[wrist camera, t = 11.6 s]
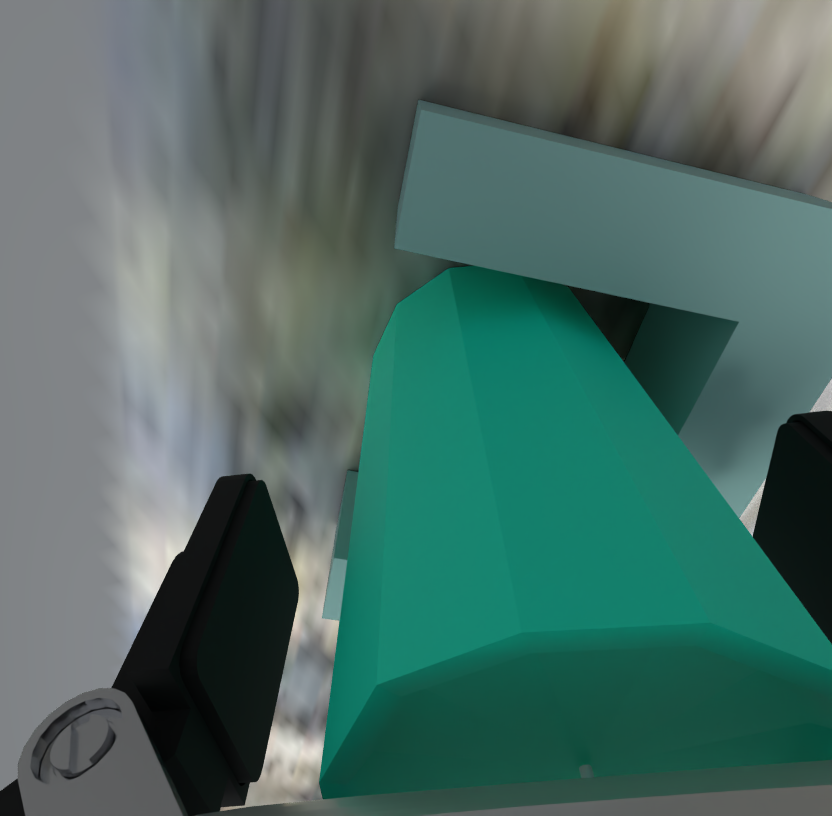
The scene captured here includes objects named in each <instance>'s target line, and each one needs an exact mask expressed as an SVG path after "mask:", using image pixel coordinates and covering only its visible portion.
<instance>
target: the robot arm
mask: <svg viewBox="0 0 832 816" xmlns="http://www.w3.org/2000/svg"><path fill="white" fill-rule="evenodd" d="M753 538H754V539H755V541H756V542H757V544H758V545H759V546H760V548H761V549H762V550H763V552H764V553H765V554H766V556H767V557H768V558H769V560H770V561H771V563H772V564H773V565H774V567H775V568H776V569H777V571H778V572H779V573H780V575H781V576H782V577H783V579H784V580H785V582H786V583H787V584H788V586H789V587H790V588H791V590H792V591H793V592H794V594H795V595H796V596H797V598H798V599H799V601H800V602H801V603H802V605H803V606H804V607H805V609H806V610H807V611H808V613H809V614H810V615H811V617H812V618H813V620H814V621H815V622H816V624H817V625H818V626H819V628H820V629H821V630H822V632H823V633H824V634H825V636H826V637H827V638H828V640H829V641H830V643H831V644H832V411H819V412H810V413H801V414H794V415H792V416H790V417H789V419H788V420H787V423H784V424H782V425H781V426H780V427H779V428H778V431H777V435H776V439H775V443H774V448H773V452H772V456H771V460H770V465H769V469H768V473H767V477H766V482H765V486H764V490H763V495H762V499H761V503H760V507H759V512H758V516H757V520H756V524H755V529H754V533H753ZM298 597H299V587H298V581H297V577H296V574H295V571H294V568H293V565H292V562H291V559H290V556H289V553H288V550H287V547H286V544H285V541H284V538H283V535H282V532H281V529H280V526H279V523H278V520H277V517H276V514H275V511H274V508H273V505H272V502H271V499H270V496H269V493H268V490H267V487H266V484H265V482H264V481H262V480H258V481H256V479H255V477H254V476H253V475H252V474H241V475H232V476H223V477H220V478H219V479H218V480H217V482H216V484H215V486H214V488H213V490H212V493H211V495H210V497H209V499H208V501H207V503H206V505H205V508H204V510H203V512H202V514H201V516H200V518H199V520H198V522H197V525H196V527H195V529H194V531H193V533H192V535H191V537H190V539H189V542H188V544H187V546H186V548H185V550H184V551H183V552H181V553H179V554H178V555H177V556H176V557H175V559H174V560H173V562H172V564H171V566H170V568H169V570H168V572H167V574H166V576H165V578H164V580H163V582H162V584H161V587H160V589H159V591H158V593H157V595H156V597H155V599H154V601H153V603H152V605H151V607H150V609H149V611H148V613H147V616H146V618H145V620H144V622H143V624H142V626H141V628H140V630H139V632H138V634H137V636H136V638H135V640H134V642H133V644H132V647H131V649H130V651H129V653H128V655H127V657H126V659H125V661H124V663H123V665H122V667H121V669H120V671H119V673H118V675H117V678H116V680H115V682H114V684H113V686H112V688H99V689H96V690H92V691H89V692H85V693H82V694H80V695H78V696H76V697H74V698H72V699H70V700H69V701H67V702H65V703H64V704H62V705H61V706H60V707H58V708H57V709H56V710H55V711H53V712H52V713H51V714H49V715H48V717H46V719H45V720H44V721H43V722H42V723H41V724H40V725H39V726H38V727H37V728H36V729H35V730H34V732H33V734H32V735H31V737H30V738H29V740H28V741H27V743H26V745H25V746H24V748H23V751H22V754H21V756H20V759H19V762H18V779H16V780H15V781H13V782H12V783H11V784H9V785H8V786H7V787H5V788H4V789H3V790H1V791H0V816H832V760H825V761H811V762H796V763H782V764H768V765H753V766H739V767H726V768H712V769H699V770H685V771H672V772H658V773H645V774H632V775H618V776H605V777H592V778H579V779H566V780H553V781H540V782H526V783H514V784H501V785H489V786H477V787H464V788H452V789H440V790H427V791H415V792H402V793H390V794H378V795H365V796H354V797H343V798H333V799H323V800H313V801H303V802H293V803H283V804H273V805H263V806H253V807H246V808H239V809H233V810H226V811H220V808H221V807H229V806H242V805H245V802H246V797H247V793H248V788H249V784H250V782H257V781H258V780H259V778H260V775H261V772H262V768H263V764H264V759H265V754H266V749H267V745H268V740H269V735H270V730H271V726H272V721H273V716H274V712H275V707H276V702H277V697H278V693H279V688H280V683H281V678H282V674H283V669H284V664H285V660H286V655H287V650H288V645H289V641H290V636H291V631H292V627H293V622H294V617H295V612H296V608H297V603H298ZM219 811H220V812H219Z"/></svg>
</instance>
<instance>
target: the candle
mask: <svg viewBox="0 0 832 816" xmlns="http://www.w3.org/2000/svg"><path fill="white" fill-rule="evenodd" d="M825 760H832V644H831V643H830V641H829V640H828V638H827V637H826V636H825V634H824V633H823V632H822V630H821V629H820V628H819V626H818V625H817V624H816V622H815V621H814V620H813V618H812V617H811V615H810V614H809V613H808V611H807V610H806V609H805V607H804V606H803V605H802V603H801V602H800V601H799V599H798V598H797V596H796V595H795V594H794V592H793V591H792V590H791V588H790V587H789V586H788V584H787V583H786V582H785V580H784V579H783V577H782V576H781V575H780V573H779V572H778V571H777V569H776V568H775V567H774V565H773V564H772V563H771V561H770V560H769V558H768V557H767V556H766V554H765V553H764V552H763V550H762V549H761V548H760V546H759V545H758V544H757V542H756V541H755V539H754V538H753V537H752V535H751V534H750V533H749V531H748V530H747V529H746V527H745V526H744V525H743V523H742V522H741V521H740V519H739V518H738V516H737V515H736V514H735V512H734V511H733V510H732V508H731V507H730V506H729V504H728V503H727V502H726V500H725V499H724V497H723V496H722V495H721V493H720V492H719V491H718V489H717V488H716V487H715V485H714V484H713V483H712V481H711V480H710V478H709V477H708V476H707V474H706V473H705V472H704V470H703V469H702V468H701V466H700V465H699V464H698V462H697V461H696V459H695V458H694V457H693V455H692V454H691V453H690V451H689V450H688V449H687V447H686V446H685V445H684V443H683V442H682V440H681V439H680V438H679V436H678V435H677V434H676V432H675V431H674V430H673V428H672V427H671V426H670V424H669V423H668V422H667V420H666V419H665V417H664V416H663V415H662V413H661V412H660V411H659V409H658V408H657V407H656V405H655V404H654V403H653V401H652V400H651V398H650V397H649V396H648V394H647V393H646V392H645V390H644V389H643V388H642V386H641V385H640V384H639V382H638V381H637V379H636V378H635V377H634V375H633V374H632V373H631V371H630V370H629V369H628V367H627V366H626V365H625V363H624V362H623V360H622V359H621V358H620V356H619V355H618V354H617V352H616V351H615V350H614V348H613V347H612V346H611V344H610V343H609V341H608V340H607V339H606V337H605V336H604V335H603V333H602V332H601V331H600V329H599V328H598V327H597V325H596V324H595V323H594V321H593V320H592V318H591V317H590V316H589V314H588V313H587V312H586V310H585V309H584V308H583V306H582V305H581V304H580V302H579V301H578V299H577V298H576V297H575V295H574V294H573V293H572V291H571V290H570V289H569V287H567V286H565V285H562V284H559V283H554V282H549V281H545V280H540V279H535V278H531V277H526V276H521V275H516V274H512V273H507V272H502V271H498V270H493V269H488V268H483V267H479V266H465V267H455V268H448V269H447V270H445V271H444V272H442V273H441V274H439V275H438V276H437V277H435V278H434V279H432V280H431V281H429V282H428V283H426V284H425V285H424V286H422V287H421V288H419V289H418V290H416V291H415V292H414V293H412V294H411V295H409V296H408V297H406V298H405V299H403V300H402V301H401V302H399V303H398V304H397V305H396V307H395V309H394V311H393V314H392V316H391V318H390V320H389V322H388V324H387V327H386V329H385V331H384V333H383V335H382V338H381V340H380V342H379V344H378V346H377V349H376V351H375V353H374V355H373V361H372V369H371V377H370V385H369V393H368V401H367V408H366V416H365V424H364V432H363V440H362V448H361V456H360V464H359V472H358V480H357V487H356V495H355V503H354V511H353V519H352V527H351V535H350V543H349V551H348V558H347V566H346V574H345V582H344V590H343V598H342V606H341V614H340V622H339V630H338V637H337V645H336V653H335V661H334V669H333V677H332V685H331V693H330V701H329V709H328V716H327V724H326V732H325V740H324V748H323V756H322V764H321V772H320V780H319V784H320V789H321V793H322V798H323V799H333V798H343V797H354V796H365V795H378V794H390V793H402V792H415V791H427V790H440V789H452V788H464V787H477V786H489V785H501V784H514V783H526V782H540V781H553V780H566V779H579V778H592V777H605V776H618V775H632V774H645V773H658V772H672V771H685V770H699V769H712V768H726V767H739V766H753V765H768V764H782V763H796V762H811V761H825Z"/></svg>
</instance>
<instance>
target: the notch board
mask: <svg viewBox="0 0 832 816" xmlns="http://www.w3.org/2000/svg"><path fill="white" fill-rule="evenodd" d="M394 249H399V250H404V251H408V252H413V253H418V254H422V255H427V256H432V257H436V258H441V259H446V260H451V261H455V262H460V263H465V264H469V265H474V266H479V267H483V268H488V269H493V270H498V271H502V272H507V273H512V274H516V275H521V276H526V277H531V278H535V279H540V280H545V281H549V282H554V283H559V284H563V285H568V286H573V287H578V288H582V289H587V290H592V291H596V292H601V293H606V294H610V295H615V296H620V297H625V298H629V299H634V300H639V301H643V302H648V303H651V304H650V306H649V308H648V310H647V313H646V315H645V317H644V319H643V322H642V324H641V326H640V328H639V331H638V333H637V335H636V337H635V340H634V342H633V344H632V346H631V349H630V351H629V353H628V355H627V358H626V360H625V362H624V363H625V365H626V366H627V367H628V369H629V370H630V371H631V373H632V374H633V375H634V377H635V378H636V379H637V381H638V382H639V384H640V385H641V386H642V388H643V389H644V390H645V392H646V393H647V394H648V396H649V397H650V398H651V400H652V401H653V403H654V404H655V405H656V407H657V408H658V409H659V411H660V412H661V413H662V415H663V416H664V417H665V419H666V420H667V422H668V423H669V424H670V426H671V427H672V428H673V430H674V431H675V432H676V434H677V435H678V436H679V438H680V439H681V440H682V442H683V443H684V445H685V446H686V447H687V449H688V450H689V451H690V453H691V454H692V455H693V457H694V458H695V459H696V461H697V462H698V464H699V465H700V466H701V468H702V469H703V470H704V472H705V473H706V474H707V476H708V477H709V478H710V480H711V481H712V483H713V484H714V485H715V487H716V488H717V489H718V491H719V492H720V493H721V495H722V496H723V497H724V499H725V500H726V502H727V503H728V504H729V506H730V507H731V508H732V510H733V511H734V512H735V514H736V515H737V516H738V518H740V516H741V515H742V513H743V512H744V510H745V509H746V507H747V506H748V504H749V503H750V501H751V500H752V498H753V497H754V495H755V494H756V492H757V490H758V489H759V487H760V486H761V484H762V483H763V481H764V480H765V478H766V477H767V473H768V469H769V465H770V460H771V456H772V452H773V448H774V443H775V439H776V435H777V431H778V428H779V427H780V426H781V425H782V424H784V423H787V420H788V419H789V417H790V416H792V415H794V414H801V413H809V412H810V410H811V409H812V407H813V406H814V404H815V403H816V401H817V400H818V398H819V397H820V395H821V394H822V392H823V391H824V389H825V387H826V386H827V384H828V383H829V381H830V380H831V378H832V202H829V201H826V200H823V199H820V198H817V197H813V196H810V195H807V194H803V193H799V192H795V191H791V190H787V189H782V188H778V187H774V186H770V185H766V184H762V183H758V182H754V181H750V180H746V179H741V178H737V177H733V176H729V175H725V174H721V173H717V172H713V171H709V170H705V169H701V168H696V167H692V166H688V165H684V164H680V163H676V162H672V161H668V160H664V159H660V158H656V157H651V156H647V155H643V154H639V153H635V152H631V151H627V150H623V149H619V148H615V147H611V146H606V145H602V144H598V143H594V142H590V141H586V140H582V139H578V138H574V137H570V136H565V135H561V134H557V133H553V132H549V131H545V130H541V129H537V128H533V127H529V126H525V125H520V124H516V123H512V122H508V121H504V120H500V119H496V118H492V117H488V116H484V115H480V114H475V113H471V112H467V111H463V110H459V109H455V108H451V107H447V106H443V105H439V104H435V103H430V102H426V101H422V100H418V104H417V110H416V115H415V120H414V125H413V131H412V136H411V141H410V146H409V151H408V157H407V162H406V167H405V172H404V178H403V183H402V188H401V193H400V198H399V204H398V211H397V222H396V233H395V244H394ZM357 480H358V472H355V471H349V470H347V475H346V481H345V486H344V491H343V496H342V502H341V507H340V512H339V517H338V523H337V528H336V534H335V541H334V547H333V553H332V559H331V565H330V572H329V578H328V584H327V590H326V596H325V603H324V609H323V615H322V618H324V619H331V620H339V621H340V614H341V606H342V598H343V590H344V582H345V574H346V566H347V558H348V551H349V543H350V535H351V527H352V519H353V511H354V503H355V495H356V487H357Z"/></svg>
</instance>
